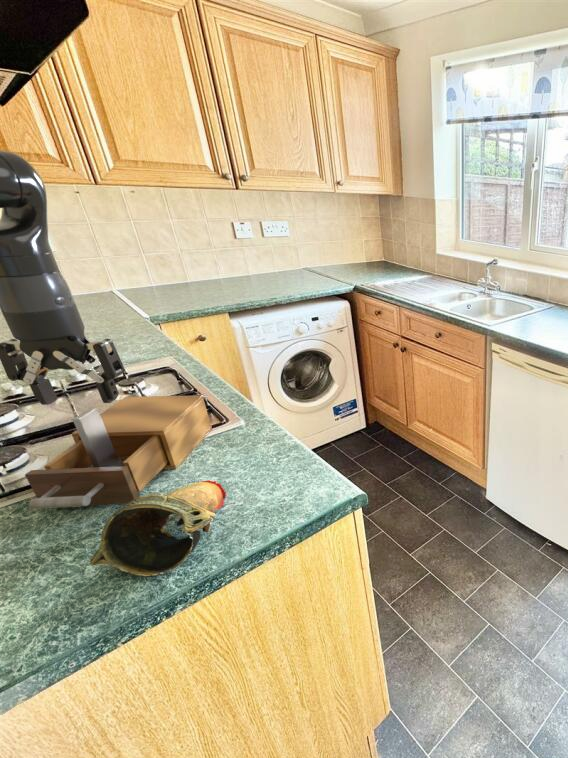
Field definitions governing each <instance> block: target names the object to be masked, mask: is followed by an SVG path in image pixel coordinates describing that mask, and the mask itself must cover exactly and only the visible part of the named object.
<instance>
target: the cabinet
mask: <svg viewBox="0 0 568 758" xmlns="http://www.w3.org/2000/svg"><path fill="white" fill-rule="evenodd" d="M100 416H101V418H102V421H103V423H104V426H105V428H106V431H107V433H108V435H109V436H130V435H160V436H161V439H162V442H163V445H164V448H165V451H166V454H167V457H168V459H169V462H168V463H167V464H166V465H165V467H164V468H163V469H162V470H176V469H178V468H179V467H180V465H181V464H182V463H183V462H184V461H185V460H186V459H187V458H188V457H189V456H190V455H191V454H192V453H193V451H194V450H195V449H196V448H197V447H198V446H199V445H200V444H201V443H202V441H203V440H204V439H205V438H206V437H207V436H206V434H207V433H208V432H209V431H210V430H211V429H212V430H213V427H212V423H211V421H210V417H209V413H208V410H207V406H206V402H205V398H204V396H203V395H202V394H201V395H153V396H151V395H149V396H145V395H143V396H124V397H122V398H121V399H120V400H118V401H117V402H115V403H114V404H113V405H111V406H110V407H108V408H106V409H105V410H104V411H101V413H100ZM212 430H211V431H212ZM211 431H210V432H211ZM210 432H209V433H210ZM209 433H208V434H209ZM71 436H72V439H73V441H74V444H75V443H77V442H78V441H80V440H81V438H80V435H79V433H78V431H77V429H76V430H74V431H73V432H71ZM205 436H206V437H205Z"/></svg>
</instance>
